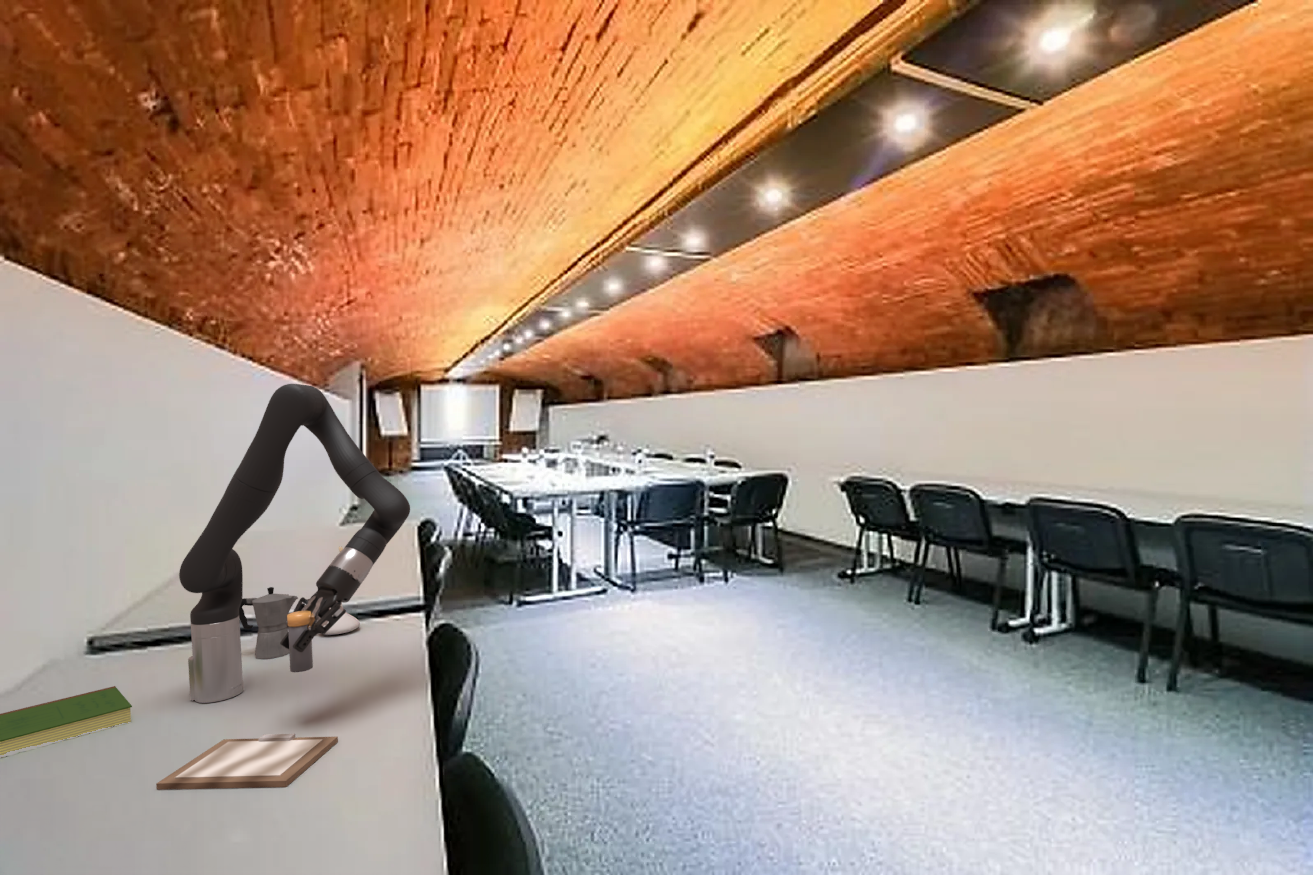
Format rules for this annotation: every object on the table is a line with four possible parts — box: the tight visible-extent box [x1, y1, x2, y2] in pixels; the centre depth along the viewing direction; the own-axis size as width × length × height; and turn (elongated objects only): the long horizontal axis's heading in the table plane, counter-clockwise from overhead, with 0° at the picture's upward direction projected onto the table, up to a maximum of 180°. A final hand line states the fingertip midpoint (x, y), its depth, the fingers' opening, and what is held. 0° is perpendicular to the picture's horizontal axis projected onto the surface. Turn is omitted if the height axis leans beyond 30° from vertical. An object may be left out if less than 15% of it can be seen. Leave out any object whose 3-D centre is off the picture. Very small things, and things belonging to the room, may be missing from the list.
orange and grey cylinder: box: [286, 611, 314, 673], centre depth 135 cm, size 4×4×11 cm
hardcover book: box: [0, 685, 133, 755], centre depth 138 cm, size 25×19×4 cm
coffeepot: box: [239, 586, 299, 660], centre depth 183 cm, size 15×9×18 cm, turn 103°
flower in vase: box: [323, 546, 361, 636], centre depth 202 cm, size 13×11×25 cm
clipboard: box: [155, 733, 339, 791], centre depth 119 cm, size 22×16×2 cm
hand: (290, 648), depth 133 cm, fingers closed on orange and grey cylinder, 4 cm apart
